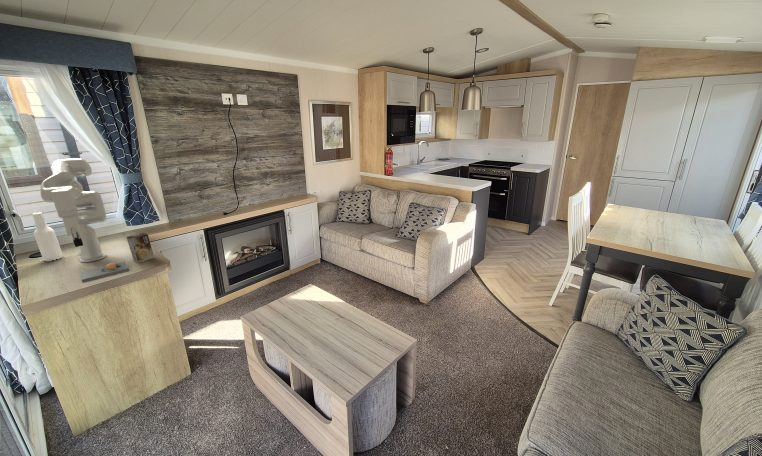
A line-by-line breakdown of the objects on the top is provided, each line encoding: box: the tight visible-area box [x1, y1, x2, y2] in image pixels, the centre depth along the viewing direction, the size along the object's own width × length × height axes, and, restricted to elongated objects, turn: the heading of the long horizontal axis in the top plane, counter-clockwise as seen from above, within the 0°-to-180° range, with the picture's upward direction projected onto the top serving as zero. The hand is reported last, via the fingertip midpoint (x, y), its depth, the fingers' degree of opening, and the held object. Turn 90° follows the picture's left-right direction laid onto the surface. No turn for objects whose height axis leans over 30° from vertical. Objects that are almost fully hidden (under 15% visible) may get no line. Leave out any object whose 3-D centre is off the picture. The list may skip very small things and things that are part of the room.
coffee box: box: [126, 232, 155, 264], centre depth 193 cm, size 9×6×16 cm
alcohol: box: [32, 211, 64, 262], centre depth 193 cm, size 9×9×30 cm
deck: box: [80, 260, 130, 283], centre depth 179 cm, size 20×14×2 cm
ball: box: [105, 262, 117, 270], centre depth 180 cm, size 4×4×4 cm
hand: (79, 245), depth 169 cm, fingers closed
